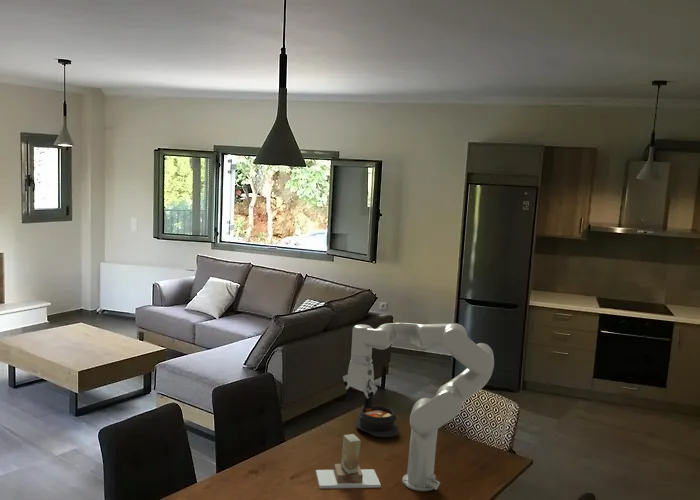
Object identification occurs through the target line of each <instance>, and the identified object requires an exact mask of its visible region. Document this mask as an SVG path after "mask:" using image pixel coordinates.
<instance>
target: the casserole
mask: <svg viewBox="0 0 700 500" xmlns="http://www.w3.org/2000/svg"><path fill="white" fill-rule="evenodd" d="M355 419H356V420H355V421H356V422H355V426H356V428H358V429H359V430H361V431H362V432H366V433H367V434H370V435H372V436H373V437H377V438H391V437H394V436H395V437H396V436H397V435H399V431H398V429H399V428H398V425H397V424H396V422H395V421H397V415H396V414H395V411H394V410H393V409H391V408H389V407H386V406H382V405H371V407H370V408H366V409H365V408H364V406H363V407H362V408H361V409H360V411H359V412H358V415H357V416H356V417H355Z"/></svg>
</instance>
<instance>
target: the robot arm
mask: <svg viewBox="0 0 700 500" xmlns="http://www.w3.org/2000/svg"><path fill="white" fill-rule="evenodd" d="M351 335H352V336H351V338H352V339H351V352H350V361H349V365H348V369H347V374H345V375H343V376H342V379H343V380H342V381H343V384H344V386H345V390H346V393H345V394H346V395H345V400H346V401H347V402H349V401H352V400H354V391H355V390H358V391H360V392H363V393H364V396H365V397H364V401H363V403H364V404H363V407H364V408H365V409H366V408H370V407H371V406H373V404H372V403H373V402H372V401H373V397H374V396H375V395H376V394H377V391H378V386H376V384H375V375H374V374H375V373H374V364H373V358H372V357H373V356H372V354H373V349H377V350H386V349H388V348H390V347H391V345H392V344H394V343H395V344H396V343H399V344H401V343H406V344H412V345H415V346H416V347H418V348H421V349H434V348H435V349H437V348H438V349H439V348H440V349H441V348H443V349H445V350H446V352H448V353H449V354H450V355H451V356H452V357H453V358H454V359H455V360H457V361H458V363H460V364H462V365H463V366H464V367H465V369H464V370H463V371H462V372H460V373H459V374H458V375H457V376H455V377H454V378H452V379H451V380H449V381H447V382H445V384H442V385H441V386H440V387H439V388H438V389H437V391H436V395H435V396H434V397H432V398H429V397H422V398H420V399H418V400H417V401H416V402H415V403H414V405H413V407H412V409H411V413H410V416H409V425H410V436H409V437H410V438H409V439H410V440H409V448H408V449H409V451H408V460H407V461H408V462H407V472H406V474H404V475H403V476H402V480H401V481H402V484H403V485H404V486H405V487H407V488H408V489H410V490H413V491H417V492H429V491H433V490H438V488H439V486H440V485H441V481H439V480H437V479H436V477H437V476H436V474H435V473H434V472H435V460H436V448H437V441H438V431H439V429H440V428H441V427H443V426H445V425H446V424H448V422H450V421H452V420H453V419H454V418H456V416H458V415H459V414H460V412H461V410H462V407H463V404H464V402H466V401H467V400H468V399H469V398H471V397H472V396H474V395H475V394H476V393H478V392H479V391H481V390H482V389H483V388H484V387H485V385H487V384H488V382H489V380H490V379H491V377H492V374H493V372H494V368H495V358H494V357H495V356H494V355H495V354H494V351H493V349H492V348H491V346H489V344H487V343H484V342H479V343H475V342H474V341H473V340H472V339H471V338H470V337H469V336H468V333H467V330H466V327H464V326H463V325H462V324H459V323H456V322H454V323H449V322H447V323H425V324H424V323H421V324H420V323H412V322H411V323H410V322H409V323H408V322H393V323H392V322H390V323H384V324H380V325H379V326H378V327H376V328H373V327H372V326H371V325H368V324H363V323H362V324H356V325H354V326H353V327H352V333H351Z"/></svg>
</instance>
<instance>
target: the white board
mask: <svg viewBox="0 0 700 500" xmlns="http://www.w3.org/2000/svg"><path fill="white" fill-rule="evenodd" d="M361 472H362V474H363V479H362V483H337V480H336V477H335V474H334V469H316V470H315V475H316V480H317V483H318V487H319V489H359V488H361V489H362V488H363V489H364V488H367V489H368V488H370V489H371V488H373V489H374V488H375V489H376V488H381V486H382V485H381V482H380V479H379V477H378V475H377V473H376V470H375V469H374V468H373V469H372V468H371V469H366V468H365V469H361Z"/></svg>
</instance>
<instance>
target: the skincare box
mask: <svg viewBox="0 0 700 500" xmlns="http://www.w3.org/2000/svg"><path fill="white" fill-rule="evenodd" d="M361 441H362V440H361V439H360V438H359V437H358V436H357V435H355V434H354V433H351V434H344V435H343V437H342V447H341V448H342V449H341V458H340V459H341V462H340V464H341V467H342V468H343V469H344V470H345V471H346V472H347V473H348V474H350V473H356V472H358V467H360V465H359V463H360V453H361V444H362V443H361Z"/></svg>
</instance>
